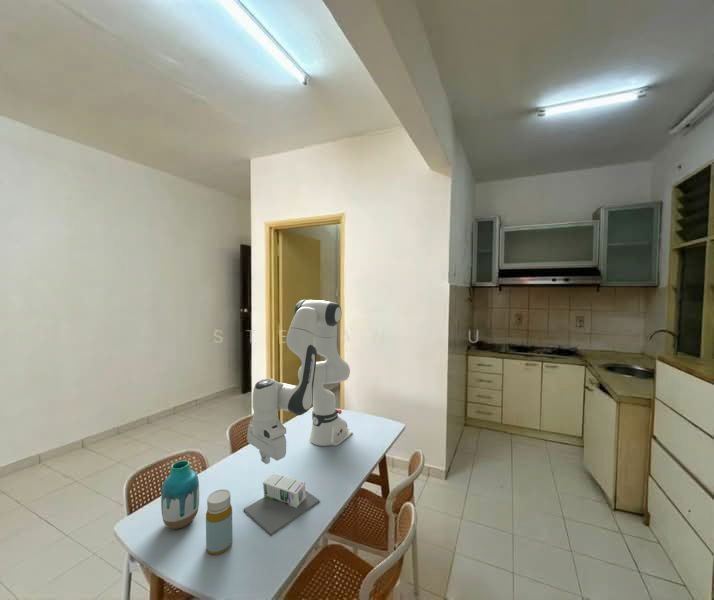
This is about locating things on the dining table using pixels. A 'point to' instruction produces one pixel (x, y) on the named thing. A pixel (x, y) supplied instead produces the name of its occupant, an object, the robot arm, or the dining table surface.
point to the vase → (180, 495)
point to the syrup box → (284, 490)
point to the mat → (277, 512)
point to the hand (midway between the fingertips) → (265, 462)
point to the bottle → (218, 522)
